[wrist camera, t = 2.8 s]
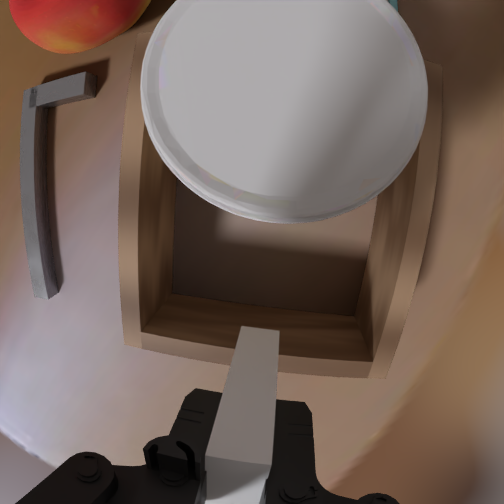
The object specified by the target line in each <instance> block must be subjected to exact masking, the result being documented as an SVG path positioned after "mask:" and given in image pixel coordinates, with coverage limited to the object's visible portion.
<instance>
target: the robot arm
mask: <svg viewBox="0 0 504 504" xmlns="http://www.w3.org/2000/svg"><path fill="white" fill-rule="evenodd" d="M278 353H279V331H277V330H269V329H261V328H254V327H246V326H241V330H240V333H239V337H238V340H237V344H236V348H235V351H234V355H233V358H232V362H231V366H230V369H229V373H228V376H227V380H226V383H225V387H224V390H223V393H220V392H214V391H208V390H203V389H197V388H195V389H194V390H193V391H192V392H191V393H189V394H188V395H187V396H186V397H185V399H184V401H183V403H182V406H181V409H180V410H179V413H178V415H177V419H176V420H175V422H174V424H173V427H172V429H171V431H170V434H169V436H168V435H167V436H162V437H157V438H155V439H153V440H151V441H149V442H148V443H147V444H146V446H145V447H144V448H143V452H144V456H145V461H146V464H145V465H142V466H118V465H112V464H111V462H110V461H109V460H108V459H106V458H105V457H104V456H102V455H100V454H98V453H94V452H82V453H77V454H75V455H73V456H72V457H70V458H69V459H68V460H66V461H65V462H64V463H63V464H62V465H61V466H59V467H58V468H57V469H56V470H55V471H54V472H52V473H51V474H50V475H49V476H48V477H47V478H45V479H44V480H43V481H42V482H41V483H39V484H38V485H37V486H36V487H35V488H33V489H32V490H31V491H30V492H29V493H28V494H26V495H25V496H24V497H23V498H22V499H20V500H19V501H18V502H17V503H15V504H399V503H398V502H397V500H396V499H394V498H392V497H391V496H389V495H386V494H381V493H373V494H368V495H365V496H363V497H361V498H359V500H354V499H350V498H346V497H342V496H338V495H335V494H333V493H330V492H329V491H327V490H326V489H324V488H323V487H322V486H321V484H320V483H319V481H318V479H317V477H316V471H315V453H314V437H313V427H312V426H313V423H312V413H311V411H310V410H309V408H308V406H307V405H306V403H305V402H298V401H287V400H277V399H276V391H277V373H278Z"/></svg>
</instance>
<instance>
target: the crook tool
mask: <svg viewBox="0 0 504 504" xmlns="http://www.w3.org/2000/svg"><path fill="white" fill-rule="evenodd" d="M96 85H97V76H96V75H93V74H91V73H88V72H82V73H78V74H75V75H71V76H67V77H64V78H60V79H57V80H54V81H51V82H47V83H44V84H41V85H38V86H35V87H33V88H30V89H27V90H24V95H23V105H22V118H21V137H20V183H21V202H22V215H23V226H24V235H25V243H26V251H27V257H28V264H29V270H30V275H31V281H32V286H33V291H34V296H35V297H38V298H43V299H50V298H51V297H53V296H54V295H56V294H57V293H59V290H58V285H57V279H56V273H55V266H54V259H53V252H52V244H51V235H50V225H49V213H48V197H47V123H48V108H51V107H55V106H59V105H63V104H67V103H72V102H76V101H81V100H85V99H90V98H95V97H96Z"/></svg>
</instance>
